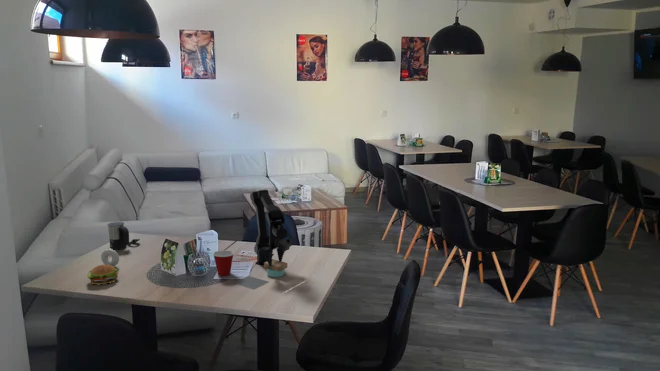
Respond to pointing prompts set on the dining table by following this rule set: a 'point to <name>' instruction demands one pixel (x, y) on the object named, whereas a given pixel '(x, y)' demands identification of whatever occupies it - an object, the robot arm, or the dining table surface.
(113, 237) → the milk frother
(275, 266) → the board
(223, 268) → the plastic cup
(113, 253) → the donut
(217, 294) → the dining table surface
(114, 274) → the food
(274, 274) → the bowl
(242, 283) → the mat
